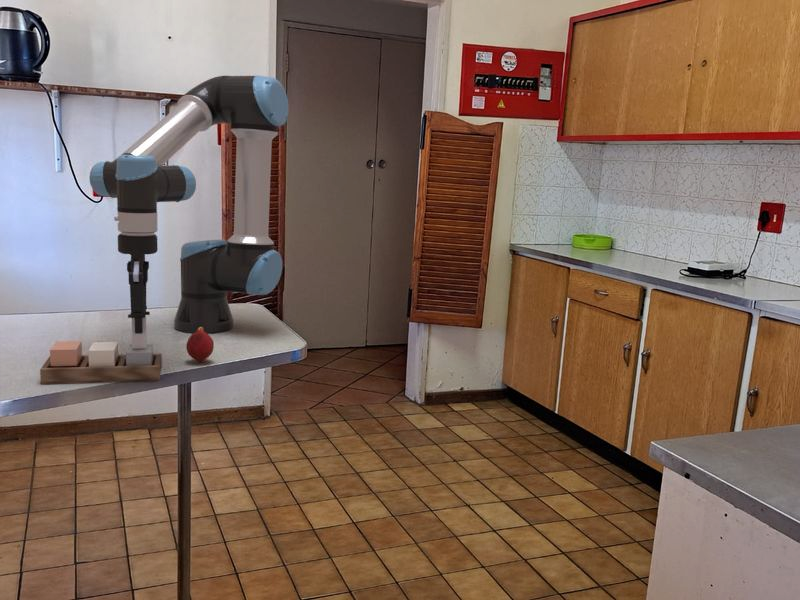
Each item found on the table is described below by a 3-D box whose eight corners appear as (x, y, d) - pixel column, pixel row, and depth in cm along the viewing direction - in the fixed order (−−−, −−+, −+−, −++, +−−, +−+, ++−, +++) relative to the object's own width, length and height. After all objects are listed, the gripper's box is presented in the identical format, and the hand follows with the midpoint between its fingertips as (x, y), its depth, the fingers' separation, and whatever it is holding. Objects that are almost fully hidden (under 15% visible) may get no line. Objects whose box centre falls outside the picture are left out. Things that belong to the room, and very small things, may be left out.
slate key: (153, 359, 157) (153, 344, 156) (151, 368, 150) (151, 352, 150) (129, 359, 156) (128, 344, 155) (126, 368, 149) (125, 353, 149)
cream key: (118, 357, 155) (117, 341, 154) (114, 366, 148) (114, 350, 148) (93, 357, 154) (93, 342, 153) (88, 366, 147) (88, 350, 147)
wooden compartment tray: (161, 367, 159) (161, 353, 159) (159, 380, 150) (159, 366, 149) (50, 369, 153) (50, 355, 153) (40, 384, 144) (40, 369, 143)
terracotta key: (82, 356, 153) (81, 340, 152) (76, 365, 147) (76, 349, 146) (56, 356, 152) (56, 341, 151) (50, 366, 145) (49, 350, 145)
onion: (206, 367, 161) (206, 331, 159) (181, 364, 162) (181, 329, 160) (217, 360, 166) (217, 325, 165) (193, 357, 167) (193, 323, 166)
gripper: (121, 229, 153) (123, 340, 157) (114, 236, 141) (116, 356, 145) (159, 230, 155) (160, 339, 159) (155, 237, 143) (156, 355, 147)
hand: (139, 347), depth 152 cm, fingers closed
